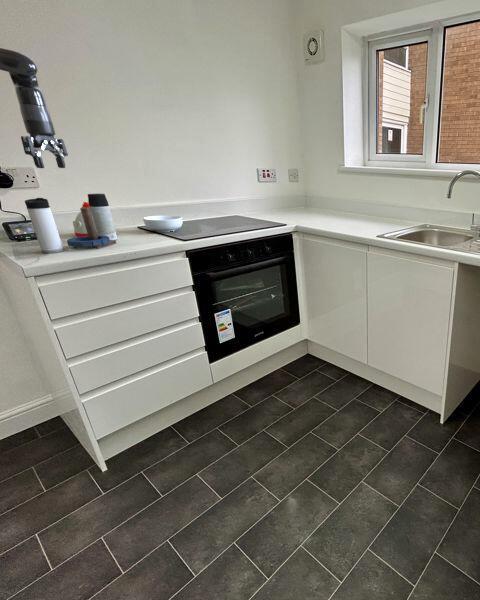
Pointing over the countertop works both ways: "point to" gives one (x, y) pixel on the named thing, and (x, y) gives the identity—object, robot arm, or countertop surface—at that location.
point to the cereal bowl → (163, 223)
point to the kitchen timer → (80, 223)
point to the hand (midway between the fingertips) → (51, 168)
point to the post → (91, 228)
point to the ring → (87, 241)
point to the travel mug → (44, 225)
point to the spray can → (102, 215)
